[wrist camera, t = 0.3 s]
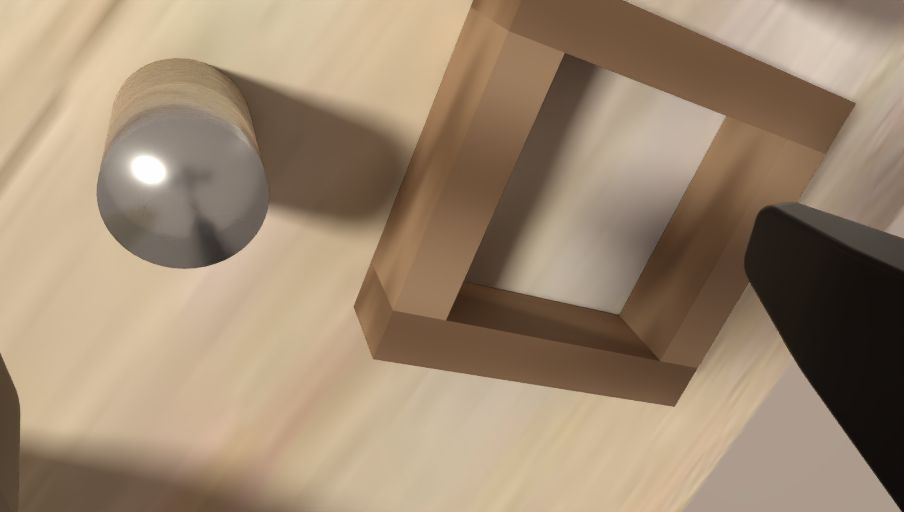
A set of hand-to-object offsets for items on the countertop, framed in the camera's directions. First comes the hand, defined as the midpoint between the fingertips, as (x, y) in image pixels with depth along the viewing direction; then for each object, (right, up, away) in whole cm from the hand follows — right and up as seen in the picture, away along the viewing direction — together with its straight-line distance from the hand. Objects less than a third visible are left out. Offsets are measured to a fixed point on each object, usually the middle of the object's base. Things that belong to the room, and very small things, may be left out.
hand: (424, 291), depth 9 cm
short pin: (-7, +4, +12) cm, 15 cm away
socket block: (+5, +3, +17) cm, 18 cm away
